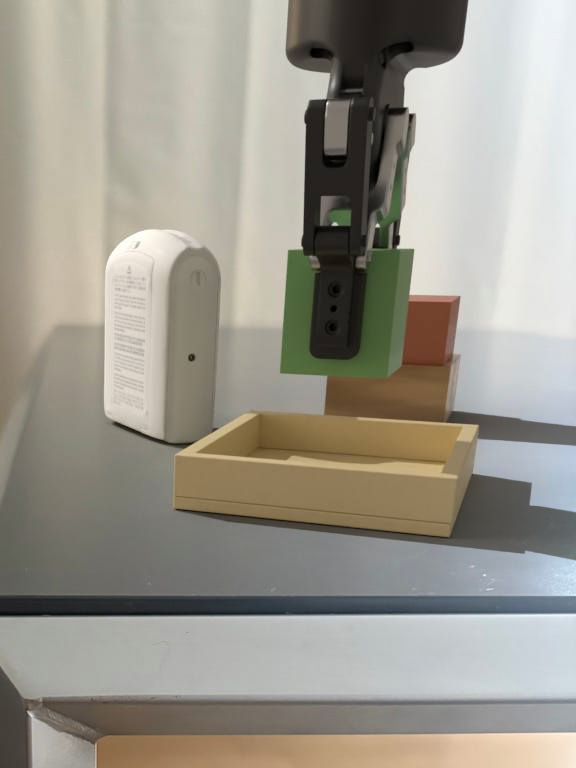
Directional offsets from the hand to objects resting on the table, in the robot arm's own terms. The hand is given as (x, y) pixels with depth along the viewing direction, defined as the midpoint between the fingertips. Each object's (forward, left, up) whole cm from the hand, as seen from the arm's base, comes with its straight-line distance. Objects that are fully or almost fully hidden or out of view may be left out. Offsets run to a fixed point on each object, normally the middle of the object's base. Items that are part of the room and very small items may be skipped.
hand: (344, 350), depth 48 cm
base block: (-24, 0, -7) cm, 25 cm away
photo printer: (-12, -14, -7) cm, 20 cm away
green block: (0, 0, -1) cm, 1 cm away
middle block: (-24, 0, -3) cm, 24 cm away
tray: (0, 0, -7) cm, 7 cm away
